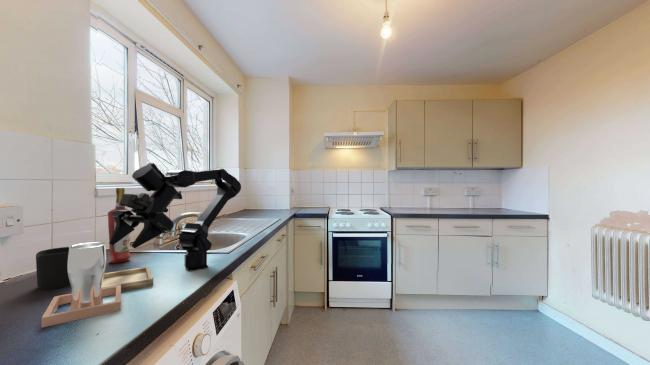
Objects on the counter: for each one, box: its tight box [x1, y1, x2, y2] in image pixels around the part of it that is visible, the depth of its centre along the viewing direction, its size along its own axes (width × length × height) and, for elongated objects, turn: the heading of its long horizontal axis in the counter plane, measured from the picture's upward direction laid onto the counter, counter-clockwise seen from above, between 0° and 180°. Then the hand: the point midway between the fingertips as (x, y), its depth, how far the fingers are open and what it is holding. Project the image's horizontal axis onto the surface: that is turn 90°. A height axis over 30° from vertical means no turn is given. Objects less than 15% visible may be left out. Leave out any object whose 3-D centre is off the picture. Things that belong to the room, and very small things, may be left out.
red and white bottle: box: [107, 187, 133, 264], centre depth 101 cm, size 7×7×28 cm
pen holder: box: [35, 246, 71, 291], centre depth 78 cm, size 9×9×10 cm
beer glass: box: [67, 241, 107, 311], centre depth 64 cm, size 7×7×15 cm
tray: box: [101, 266, 154, 292], centre depth 79 cm, size 14×14×2 cm
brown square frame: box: [41, 285, 122, 329], centre depth 64 cm, size 13×13×2 cm
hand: (121, 245), depth 72 cm, fingers open, 9 cm apart
